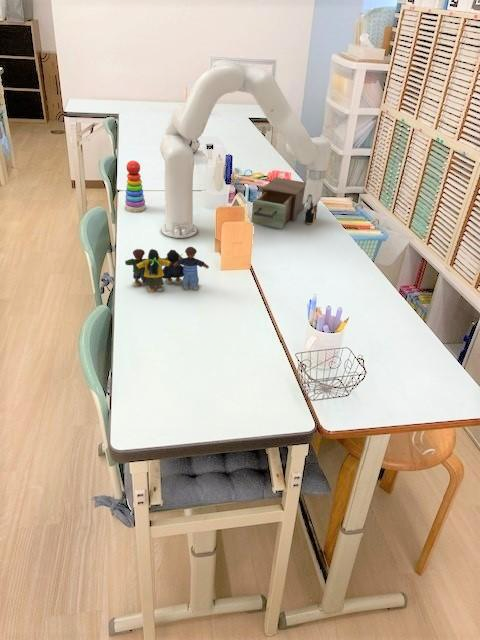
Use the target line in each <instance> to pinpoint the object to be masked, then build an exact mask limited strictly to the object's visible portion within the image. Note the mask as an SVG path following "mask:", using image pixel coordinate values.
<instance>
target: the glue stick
mask: <svg viewBox="0 0 480 640" xmlns="http://www.w3.org/2000/svg"><path fill="white" fill-rule="evenodd" d="M311 208H312V207H311ZM315 212H316V206H314V212H313V213H314V218H313V223H308V222H305V223H306V224H308V225H314V224H315V220H316V219H315ZM314 219H315V220H314Z"/></svg>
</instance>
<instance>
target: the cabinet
mask: <svg viewBox="0 0 480 640" xmlns="http://www.w3.org/2000/svg"><path fill="white" fill-rule="evenodd" d="M305 186H306V181H305V182H304V181H301V180H294V179H287V178H281V177H278V176H277V177H274V178H272V179H271V180H270V181H269V182H268V183H266V184H265V185H264V186H263V187H262V188H261V195H262V194H263V193H264V192H265V191H269V192H274V193H279V194H285V195H290V196H294V200H293V209H292V216H291V217H290V218H289V219H288V221H289V222H294V221H295V220H296V218H297V217H299V215H300V214H301V213H302V211H303V210H304V209H305V206H306V204H303V197H304V191H305Z"/></svg>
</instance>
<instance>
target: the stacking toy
mask: <svg viewBox="0 0 480 640" xmlns="http://www.w3.org/2000/svg"><path fill="white" fill-rule="evenodd" d="M125 169H126V171H127V172H128V173H127V175H126V179H127V180H126V190H125V201H124V202H125V204H124V208H125V210H127V211H128V212H131V213H138V212H142V211H144V210H145V209H146V207H147V206H146V200H145V195H144V189H143V184H142V182H143V180H142V179H141V174H140V171H141V165H140V163H139V162H138V161H137V160H130V161H128V162H127V164H126V168H125Z"/></svg>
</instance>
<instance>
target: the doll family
mask: <svg viewBox="0 0 480 640" xmlns="http://www.w3.org/2000/svg"><path fill="white" fill-rule="evenodd" d="M184 253H185V254H186V256H187V257H183V255H184ZM184 253H181V254H179V252H177V251H176V250H175V249H170V250H169V251H168V252H167V253H166V257H160V254H159V253H158V250H157V249H153V248H151V249H150V250H148V255H147V258H144V256H145V254H146V252H145V250H144V249H141V248H136V249H135V250H133V251H132V255H133V257H134V258H129V259H127V260H125V261H124V263H125V265H126V266H132V274H133V275H132V278H133V279H134V284H133V286H134V287H140V285H141V286H147V289H148V291H149V292H155V290H156V291H157V292H162V291H163V290H164V288H163V286H164V284H165V282H166V283H167V284H170V285H171V284H174V283H175V284H176V285H180V284H181V283H183V285H182V288H183V289H184V290H190V287H191V288H192V290H197V289H198V288H199V287H200V285H199V281H200V278H199V275H198V274H199V273H198V272H199V271H198V267H200V268H202V267H203V268H204V269H206V270H207V269H210V266H209V265H208V264H207V263H205V262H204V261H203V260H201V259H199V258H196V257H195V256H196V254H197V249H196V248H195V247H193V246H188V247H187V248H185V250H184ZM173 278H174V279H175V280H173ZM140 279H141V281H140ZM164 279H165V282H164ZM173 281H174V283H173Z"/></svg>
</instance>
